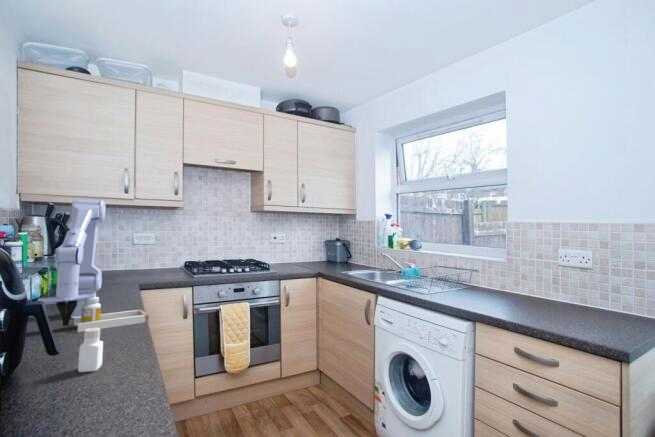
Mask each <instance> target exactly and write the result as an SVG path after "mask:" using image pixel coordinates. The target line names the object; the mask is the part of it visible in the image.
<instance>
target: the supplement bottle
mask: <svg viewBox="0 0 655 437" xmlns="http://www.w3.org/2000/svg"><path fill="white" fill-rule="evenodd" d="M101 310H102V305H101V303H100V297H99V296H96V297H94V298H86V299H85V304H84V305H83V306H82V314H81V323H85V322H93V321H100V315H101V314H102V313H101V312H102V311H101Z"/></svg>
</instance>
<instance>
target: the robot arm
mask: <svg viewBox="0 0 655 437" xmlns="http://www.w3.org/2000/svg"><path fill="white" fill-rule="evenodd" d="M106 206H107V205H106V202H105V201H104V200H102V199H100V200H98V199H97V200H95V199H94V200H93V199H78V198H75V199H74V200H73V201H72V202H71V212H72V215H73V217H74V220H73V225H72V228H71V229H69V230H68V231H66V234H65V236H64V239H63V243H62V244H61V246H60V248H59V247H58V248H57V249H56V251H55V255H54V261H55V269H56V270H57V274H56V275H57V276H56V291H55V292H56V294H55V296H49V297H42V298H37V302H38V301H43V302H44V303H45V305H56V308H57V309H58V311H59V314H60V315H61V316H60V317H61V320H62V322H61V323H62V326H63V327H65V326H69V325H70V324H69V323H70V320H71V319H72V320H73V319H75V317H81V314H82V306H83V305H84V304H85V299H86V298H94V297H97V291H99V290H100V289H101V287H102V285H103V284H102V283H103V278H102V275H103V272H102V270H101V269H100V268H98V267H97V266H95V257H96V250H97V248H96V247H97V241H98V240H97V239H98V230H99V226H100V224H101V223H104V222H105V219H106V209H107V208H106ZM45 305H44V306H45Z"/></svg>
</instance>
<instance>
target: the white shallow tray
mask: <svg viewBox="0 0 655 437" xmlns="http://www.w3.org/2000/svg"><path fill="white" fill-rule="evenodd" d="M149 316H150V315H149V314H148V313H147V312H145V311H144V310H143V309H136V310H135V309H134V310H126V311H117V312H109V313H101V315H100V321H93V322H85V323H81V317H75V318H74V320H73V321H74V322H73V324H74V327H75V326H76V327H77V329H76V330H77V333H82V332H84V331H85V330H86V329H89V328H100V330H102V329H109V328H116V327H123V326H130V325H135V324H143V323H149V318H150V317H149Z"/></svg>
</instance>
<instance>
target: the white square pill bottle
mask: <svg viewBox="0 0 655 437" xmlns="http://www.w3.org/2000/svg"><path fill="white" fill-rule="evenodd" d="M83 332H84V333H83V334H84V336H83V339H84V341H83V342H82V343H81V345H80V346H79V349H78V350H79V353H78V369H77V370H78V372H79V373H88V372H89V373H90V372H96V371H98V370H99V369H100V368H101V367H102V364H103V355H104V354H103V353H104V341H102V340H100V337H101V329H100V328H89V329H86V330H85V331H83Z"/></svg>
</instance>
